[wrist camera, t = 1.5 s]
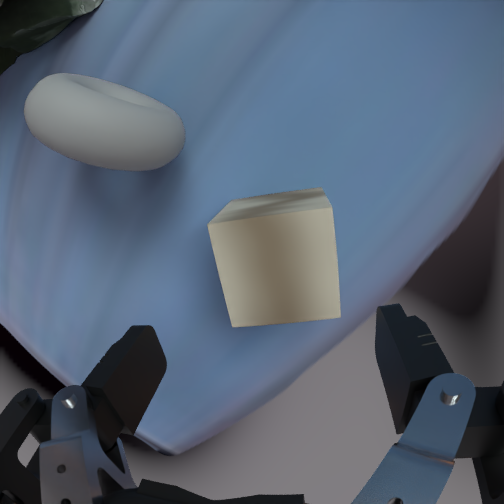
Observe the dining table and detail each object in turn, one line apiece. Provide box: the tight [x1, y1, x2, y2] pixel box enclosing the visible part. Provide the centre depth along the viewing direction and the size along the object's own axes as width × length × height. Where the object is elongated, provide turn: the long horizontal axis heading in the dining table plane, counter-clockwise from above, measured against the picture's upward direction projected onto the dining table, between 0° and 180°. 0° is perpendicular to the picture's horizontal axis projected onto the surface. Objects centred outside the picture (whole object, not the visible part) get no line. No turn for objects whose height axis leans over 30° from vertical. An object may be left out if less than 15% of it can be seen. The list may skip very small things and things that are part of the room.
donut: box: [24, 73, 185, 171], centre depth 14 cm, size 10×4×10 cm, turn 61°
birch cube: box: [207, 187, 341, 327], centre depth 18 cm, size 6×6×6 cm
